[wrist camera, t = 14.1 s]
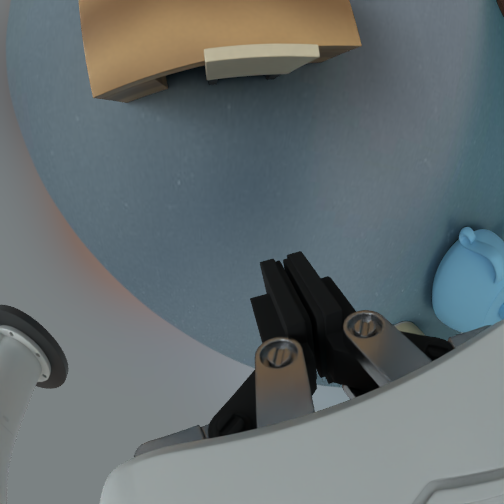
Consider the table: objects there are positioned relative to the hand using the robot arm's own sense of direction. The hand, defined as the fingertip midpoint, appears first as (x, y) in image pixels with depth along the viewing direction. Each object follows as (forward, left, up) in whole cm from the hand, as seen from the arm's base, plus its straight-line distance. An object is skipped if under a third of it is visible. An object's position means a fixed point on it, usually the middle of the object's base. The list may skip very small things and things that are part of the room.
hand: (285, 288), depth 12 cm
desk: (-13, +9, -16) cm, 23 cm away
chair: (-10, +9, -16) cm, 21 cm away
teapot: (+31, +18, -17) cm, 39 cm away
